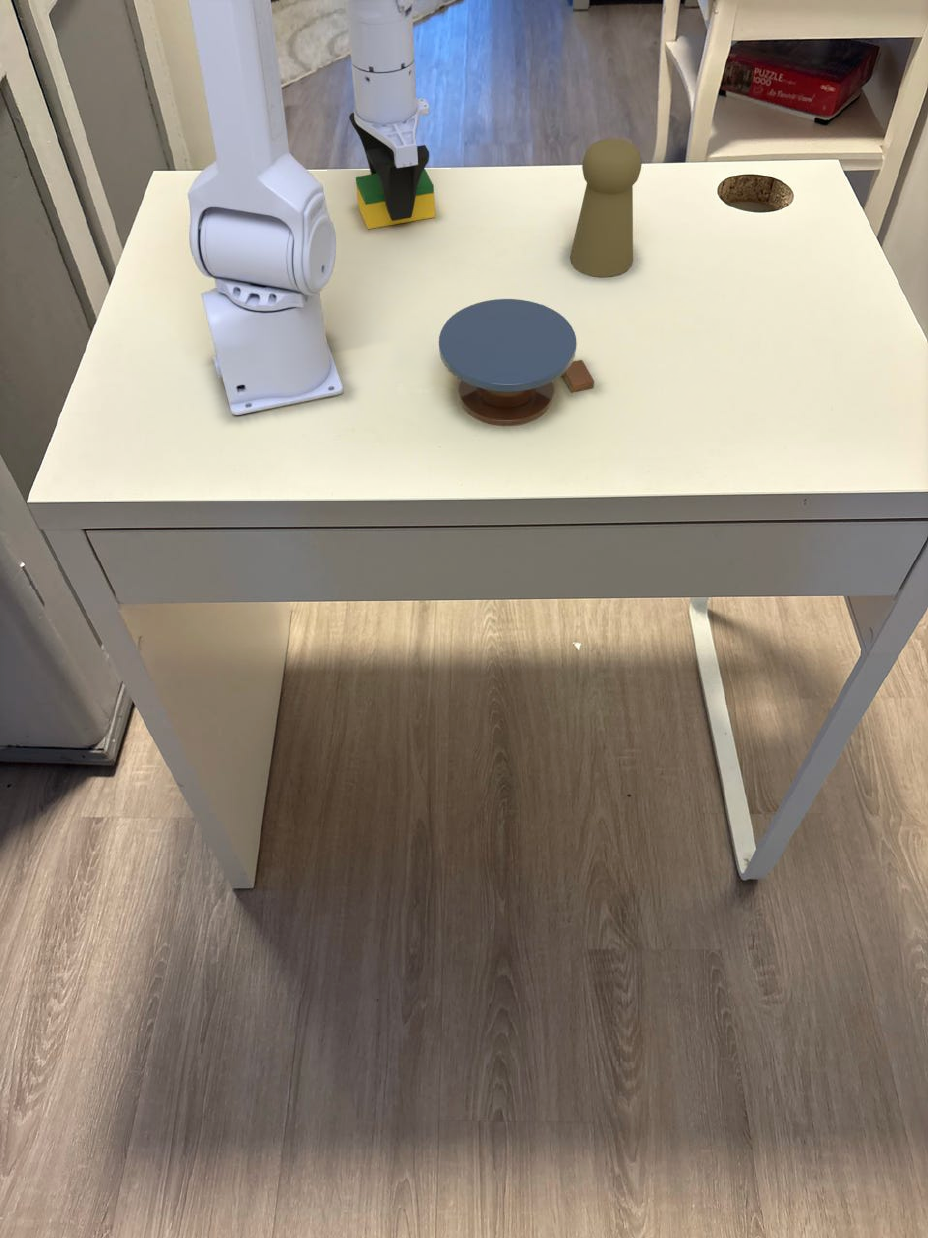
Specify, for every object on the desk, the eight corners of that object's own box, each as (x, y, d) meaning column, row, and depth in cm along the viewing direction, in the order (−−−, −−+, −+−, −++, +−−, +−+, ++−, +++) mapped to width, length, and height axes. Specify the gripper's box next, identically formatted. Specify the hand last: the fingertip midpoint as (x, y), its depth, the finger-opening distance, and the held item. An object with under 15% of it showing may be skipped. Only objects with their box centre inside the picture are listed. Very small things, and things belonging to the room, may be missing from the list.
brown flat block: (594, 380, 83) (593, 389, 83) (582, 359, 84) (581, 367, 85) (572, 385, 82) (571, 393, 83) (560, 363, 84) (559, 372, 85)
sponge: (367, 229, 98) (364, 197, 96) (358, 208, 101) (355, 176, 98) (435, 217, 99) (433, 184, 97) (424, 197, 102) (423, 165, 99)
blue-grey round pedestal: (462, 450, 79) (461, 396, 74) (425, 366, 85) (422, 312, 81) (591, 422, 80) (597, 368, 76) (545, 342, 87) (548, 288, 82)
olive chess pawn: (632, 242, 96) (648, 129, 87) (633, 278, 93) (649, 164, 84) (571, 239, 97) (580, 127, 88) (568, 275, 93) (578, 161, 84)
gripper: (448, 87, 85) (451, 232, 95) (405, 19, 93) (412, 160, 104) (368, 100, 83) (381, 245, 94) (332, 30, 92) (347, 171, 103)
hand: (393, 201), depth 99 cm, fingers open, 5 cm apart
